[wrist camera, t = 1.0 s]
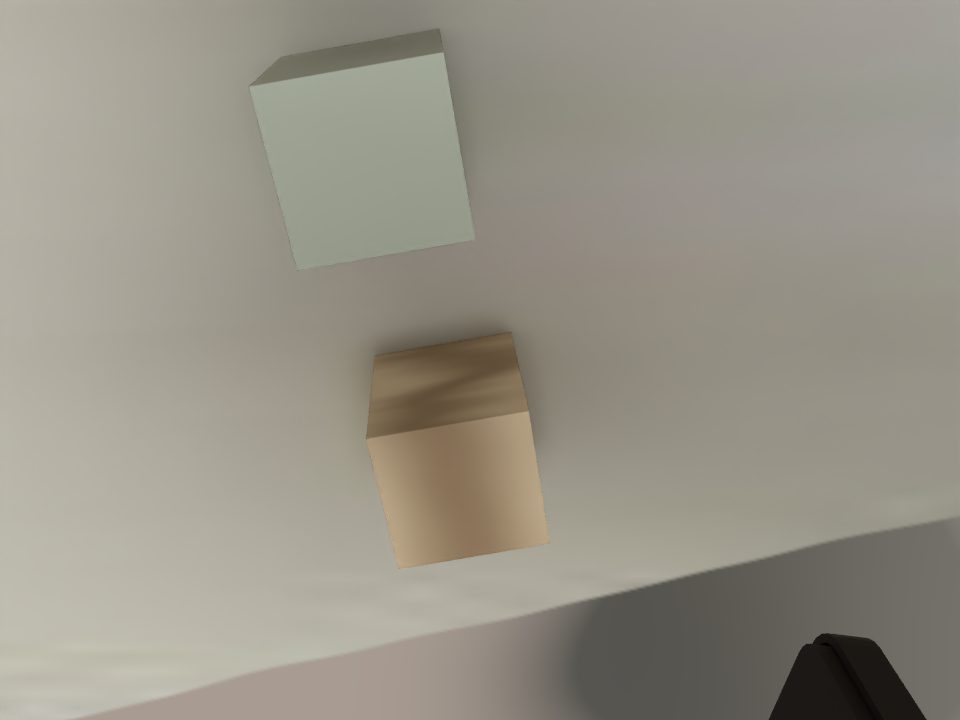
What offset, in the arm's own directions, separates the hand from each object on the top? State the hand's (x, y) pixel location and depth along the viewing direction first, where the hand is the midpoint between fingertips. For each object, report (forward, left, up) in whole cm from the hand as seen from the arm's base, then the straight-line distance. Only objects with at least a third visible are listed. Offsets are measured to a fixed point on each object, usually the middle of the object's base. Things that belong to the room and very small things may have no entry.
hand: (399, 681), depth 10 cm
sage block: (+2, -1, -22) cm, 22 cm away
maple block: (-6, +6, -22) cm, 24 cm away
